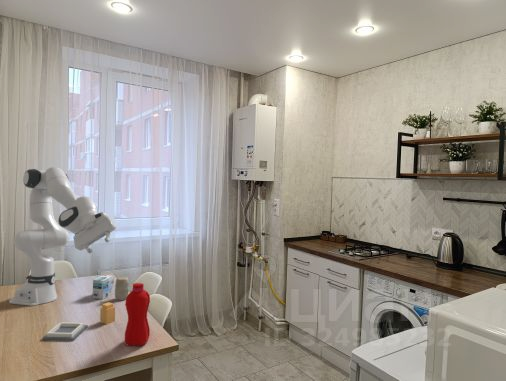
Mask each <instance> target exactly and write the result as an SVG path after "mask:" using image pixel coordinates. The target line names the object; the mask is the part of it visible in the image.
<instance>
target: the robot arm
mask: <svg viewBox="0 0 506 381" xmlns="http://www.w3.org/2000/svg"><path fill="white" fill-rule="evenodd" d="M22 182H23V185H24V186H25V187H26V188H29V189H31V191H30V196H29V218H30V220H31V222H33V223H35V224H37V225H39V226H42V228H41V229H38V228H37V229H27V230H23V231H19V232H17V234H16V235H15V236H14V239H13V245H14V246H15V248H16V249H17V250H19V251H21V252H22V253H23V254H25V256H26V257H27V258H28V260H29V265H30V274H29V275H28V276H25V280H27V281H26V282H25V283H23V284H22V285H21V286H19V287H18V288H17V289H16V290H15V293H14V296H13V297H12V298H10V299H9V302H8V303H9V304H14V305H19V306H20V305H21V306H30V307H34V306H37V305H41V304H47V303H50V302H53V301H56V300H57V299H58V295H57V291H56V284H55V282H56V273H55V260H54V257H52V256H50V255H49V254H44V253H42V250H48V249H58V248H62V247H65V246H67V244H68V243H69V240H70V234H69V232H70V233H72V234H74V235H73V244H74V248H75V249H76V250H78V251H83V250H86V252H87V254H91V253H93V248H90V246H91V245H93V244H95V242H97V241H99V240H101V239H103V238H104V242H105V243H109V242H110V241H111V239H110V236H111V233H112V232H113V231H115V230H116V228H117V226H116V223H115V222H114V220H113V219H112V218H111V216H110V215H109V214H108V213H106V212H104V211H101V212H98V209H97V206H96V203H95V201H94V199H93V198H91V197H90V196H85V195H83V196H80V197H77V196H76V193H75V191H74V190H73V187H72V185H71V183H70V180H69V175H68V174H67V173H65V172H64V170H63V169H62V168H60V167H57V166H51V167H48V168H47V169H36V168H31V169H27V170H26V171H25V172H24V173H23V177H22ZM53 200H55V201H56V202H58V203H59V204H61V205H62V206H63V207H64V208H65V210H63V211H62V212H61V213H60V215H59V216H58V222H57V221H56V218H55V216H54V215H55V214H54V207H53V206H54V205H53ZM68 231H69V232H68Z"/></svg>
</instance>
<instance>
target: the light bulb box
mask: <svg viewBox="0 0 506 381" xmlns="http://www.w3.org/2000/svg"><path fill="white" fill-rule="evenodd" d="M114 284H115V275H109V274H103V275H101V276H99V277H95V278H94V279H92V299H97V300H105V299H106V298H108V297H110V296H112V295H113V293H114V294H115V287H114V286H115V285H114Z"/></svg>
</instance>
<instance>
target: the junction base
mask: <svg viewBox="0 0 506 381" xmlns="http://www.w3.org/2000/svg"><path fill="white" fill-rule="evenodd" d="M87 328H88V325H87V324H85V323H84V322H62V321H61V322H58V324H56V325H55V326H54V327H53V328H51V329H49V331H47V333H46V334H45V335H44V336H42V338H41V341H53V342H54V341H55V342H56V341H57V342H58V341H61V342H62V341H63V342H65V341H66V342H73V341H75V340H77V338H78V337H79V336H80V335H81V334H83V332H84V331H85V330H86V329H87Z"/></svg>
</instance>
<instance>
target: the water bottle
mask: <svg viewBox="0 0 506 381" xmlns="http://www.w3.org/2000/svg"><path fill="white" fill-rule="evenodd" d="M144 287H145V286H144V283H142V282H135V283H132V291H129V292H128V296H127V298H126V299H125V303H124V305H125V309H126V313H127V324H126V327H125V331H124V343H125V344H126V345H127V346H135V347H136V346H137V347H138V346H143V345H145V344H146V343H147V342H148V340H149V338H150V324H149V320H148V311H149V307H150V303H151V297H150V294H149V292H148V291H147V290H146V289H145V288H144Z"/></svg>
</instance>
